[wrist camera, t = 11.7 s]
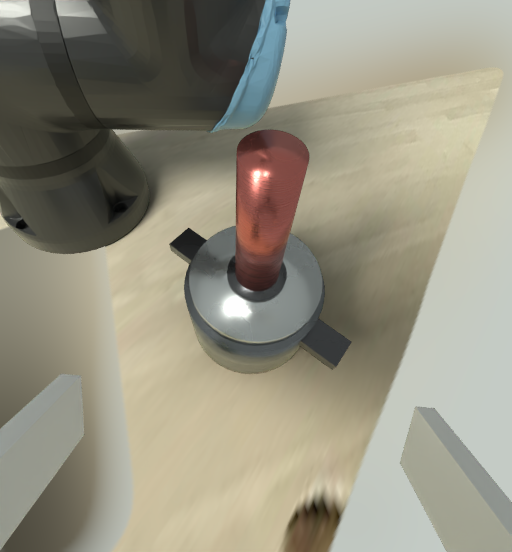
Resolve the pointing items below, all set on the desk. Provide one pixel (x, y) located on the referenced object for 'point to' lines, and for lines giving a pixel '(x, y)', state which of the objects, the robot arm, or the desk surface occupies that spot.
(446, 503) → the robot arm
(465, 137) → the desk surface
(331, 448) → the desk surface
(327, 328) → the pot
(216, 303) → the lid
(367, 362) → the desk surface
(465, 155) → the desk surface
